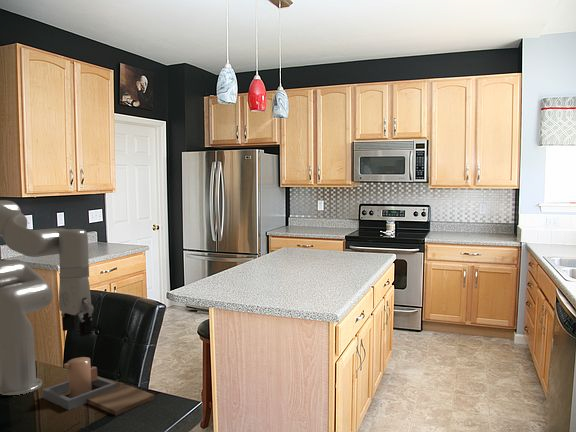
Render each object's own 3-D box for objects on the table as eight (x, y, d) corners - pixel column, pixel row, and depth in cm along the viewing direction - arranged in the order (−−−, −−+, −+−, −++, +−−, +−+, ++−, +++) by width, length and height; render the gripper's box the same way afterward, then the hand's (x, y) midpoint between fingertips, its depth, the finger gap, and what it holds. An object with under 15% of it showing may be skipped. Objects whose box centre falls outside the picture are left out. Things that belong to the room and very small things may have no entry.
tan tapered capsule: (61, 397, 134) (59, 362, 134) (91, 386, 141) (89, 353, 141) (72, 402, 130) (70, 366, 130) (102, 391, 137) (100, 357, 137)
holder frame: (43, 398, 134) (42, 389, 134) (90, 381, 145) (90, 373, 145) (68, 410, 125) (68, 401, 125) (117, 391, 137) (116, 383, 137)
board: (86, 403, 129) (86, 398, 129) (125, 388, 139) (125, 384, 139) (115, 415, 121) (115, 411, 121) (154, 399, 130) (154, 394, 130)
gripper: (47, 272, 136) (49, 330, 137) (77, 277, 125) (79, 340, 126) (72, 268, 142) (74, 324, 143) (103, 273, 131) (105, 334, 132)
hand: (76, 332), depth 134 cm, fingers open, 9 cm apart
